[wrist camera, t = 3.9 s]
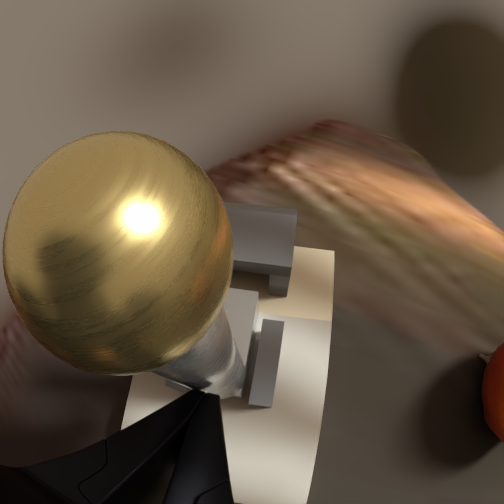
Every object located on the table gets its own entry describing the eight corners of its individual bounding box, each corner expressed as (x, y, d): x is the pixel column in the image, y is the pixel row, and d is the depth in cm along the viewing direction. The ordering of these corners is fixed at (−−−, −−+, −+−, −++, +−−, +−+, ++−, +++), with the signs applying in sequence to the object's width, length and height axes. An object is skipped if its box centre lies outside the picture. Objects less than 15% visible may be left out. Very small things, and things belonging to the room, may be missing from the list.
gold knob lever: (250, 413, 12) (137, 397, 1) (191, 401, 13) (-71, 279, 1) (268, 308, 15) (273, 27, 4) (214, 300, 16) (131, 40, 4)
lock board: (301, 501, 11) (316, 532, 7) (125, 463, 12) (80, 472, 8) (329, 263, 19) (346, 216, 14) (182, 245, 20) (163, 197, 16)
